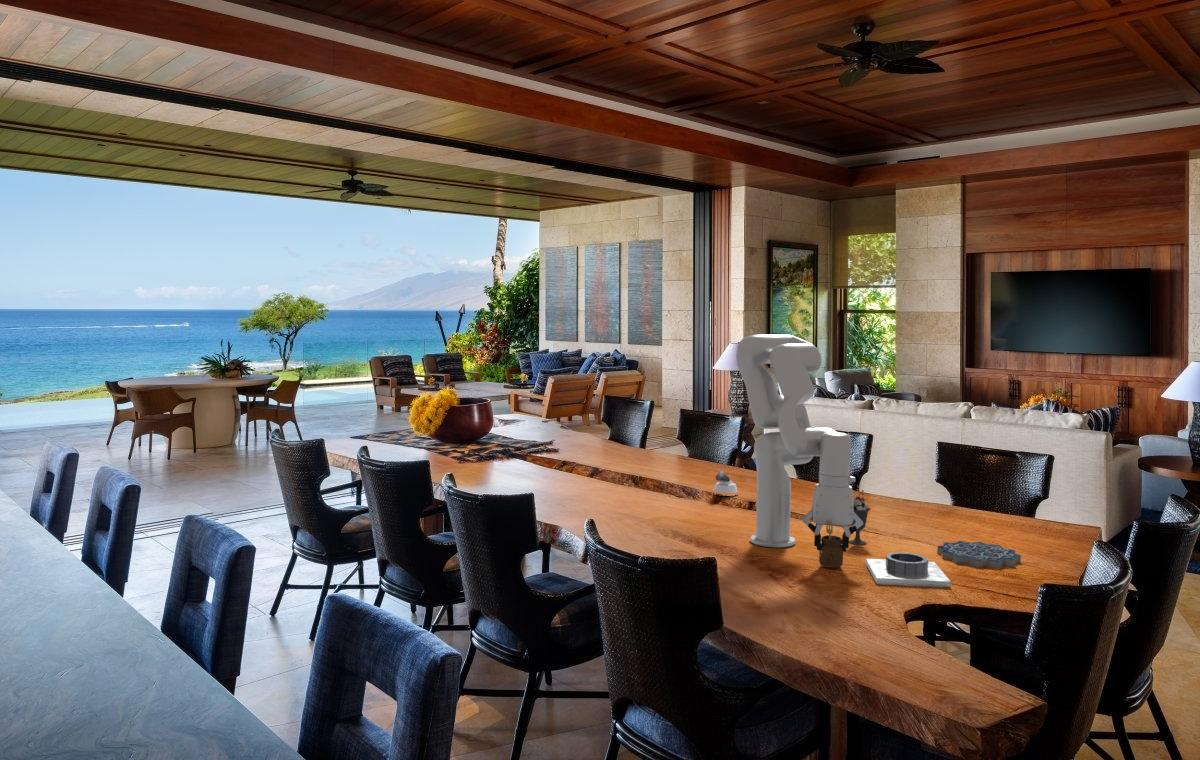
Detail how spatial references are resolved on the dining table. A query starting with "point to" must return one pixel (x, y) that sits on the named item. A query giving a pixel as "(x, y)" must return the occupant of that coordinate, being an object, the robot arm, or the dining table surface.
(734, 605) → the dining table surface
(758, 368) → the robot arm
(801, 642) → the dining table surface
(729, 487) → the inkwell
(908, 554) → the collar stand
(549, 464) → the dining table surface
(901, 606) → the dining table surface
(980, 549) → the decorative tile
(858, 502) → the sundae
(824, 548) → the utensil holder
